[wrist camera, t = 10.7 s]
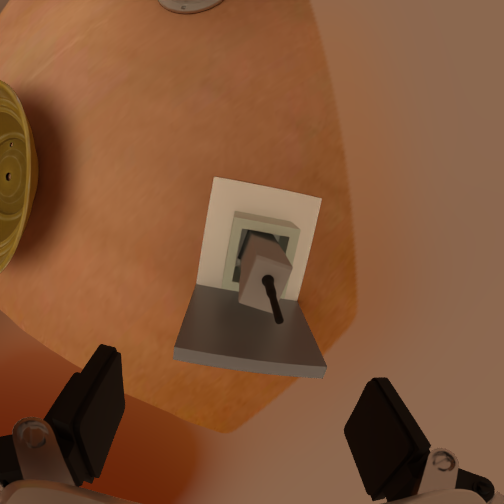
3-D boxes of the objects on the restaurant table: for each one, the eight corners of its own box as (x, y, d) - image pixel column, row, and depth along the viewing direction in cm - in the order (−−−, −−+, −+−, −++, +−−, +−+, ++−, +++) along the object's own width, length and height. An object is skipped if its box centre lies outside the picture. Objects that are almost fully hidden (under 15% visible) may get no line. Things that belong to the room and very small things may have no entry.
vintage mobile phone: (237, 256, 45) (238, 349, 20) (249, 225, 43) (264, 288, 19) (261, 264, 45) (286, 362, 21) (273, 234, 44) (315, 304, 20)
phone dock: (214, 176, 43) (197, 176, 24) (319, 197, 44) (374, 214, 26) (195, 290, 47) (173, 359, 28) (293, 306, 48) (322, 378, 30)
